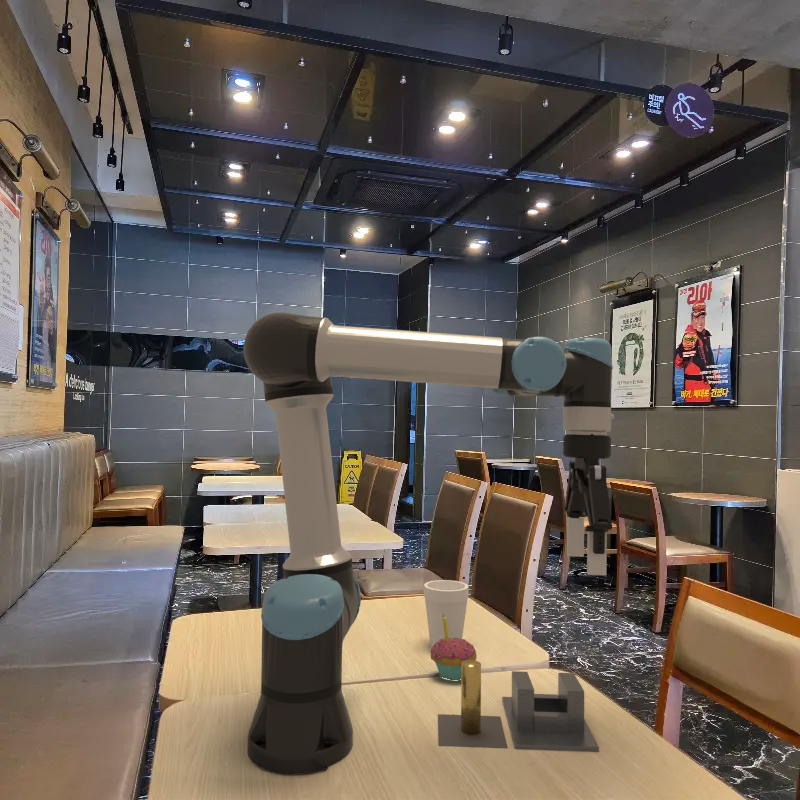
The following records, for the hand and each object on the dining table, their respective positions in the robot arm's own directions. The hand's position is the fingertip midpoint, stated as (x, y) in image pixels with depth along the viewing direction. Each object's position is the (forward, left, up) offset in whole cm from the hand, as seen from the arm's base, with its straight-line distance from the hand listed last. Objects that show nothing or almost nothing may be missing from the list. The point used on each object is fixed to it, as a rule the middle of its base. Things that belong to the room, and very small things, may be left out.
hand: (585, 564), depth 102 cm
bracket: (-7, -3, -25) cm, 26 cm away
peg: (-19, -6, -24) cm, 31 cm away
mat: (-19, -6, -25) cm, 31 cm away
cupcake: (-21, +15, -25) cm, 36 cm away
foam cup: (-22, +31, -25) cm, 45 cm away
